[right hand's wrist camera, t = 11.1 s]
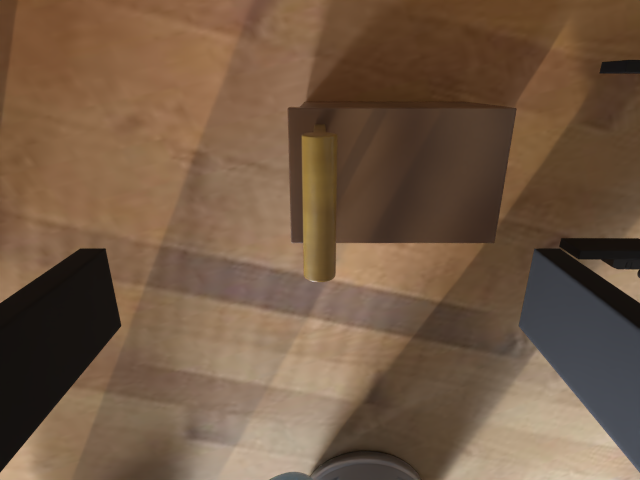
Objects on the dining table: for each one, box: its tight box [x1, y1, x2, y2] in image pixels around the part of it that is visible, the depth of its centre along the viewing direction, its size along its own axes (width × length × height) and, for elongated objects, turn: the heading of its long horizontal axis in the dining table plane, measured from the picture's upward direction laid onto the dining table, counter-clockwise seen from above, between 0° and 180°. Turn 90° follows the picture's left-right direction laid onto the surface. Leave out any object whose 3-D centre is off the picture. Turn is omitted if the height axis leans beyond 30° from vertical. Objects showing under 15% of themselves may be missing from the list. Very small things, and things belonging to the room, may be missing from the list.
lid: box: [288, 107, 516, 282], centre depth 24 cm, size 14×9×9 cm, turn 90°
